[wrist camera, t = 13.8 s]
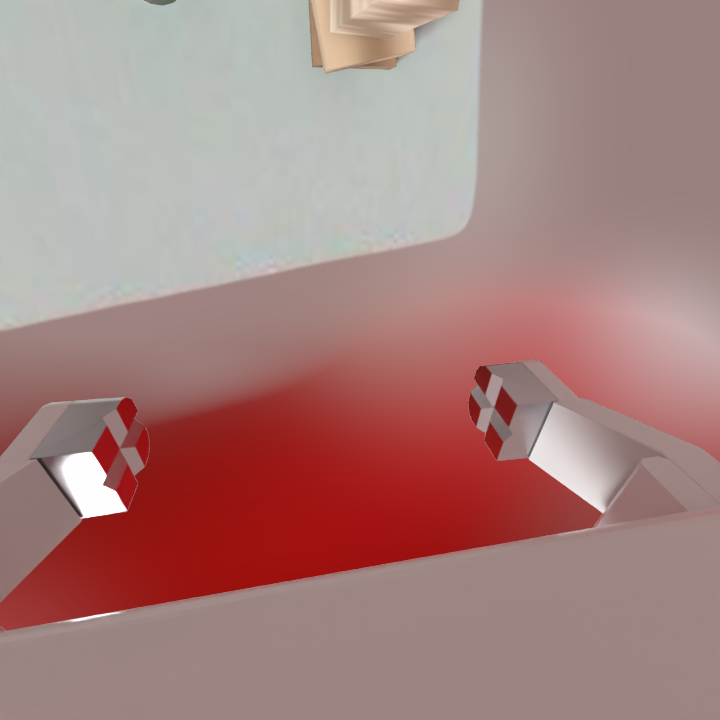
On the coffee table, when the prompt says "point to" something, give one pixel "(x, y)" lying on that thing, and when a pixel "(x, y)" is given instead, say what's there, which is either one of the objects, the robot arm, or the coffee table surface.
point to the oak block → (354, 43)
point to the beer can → (160, 2)
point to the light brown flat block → (376, 65)
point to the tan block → (385, 16)
